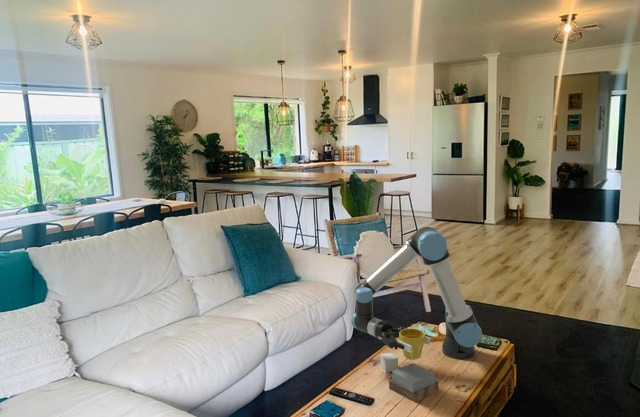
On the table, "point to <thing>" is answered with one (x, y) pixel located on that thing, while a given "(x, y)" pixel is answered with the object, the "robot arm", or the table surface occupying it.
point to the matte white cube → (389, 362)
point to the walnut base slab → (416, 395)
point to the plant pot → (412, 342)
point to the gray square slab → (413, 377)
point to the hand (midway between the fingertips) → (420, 345)
